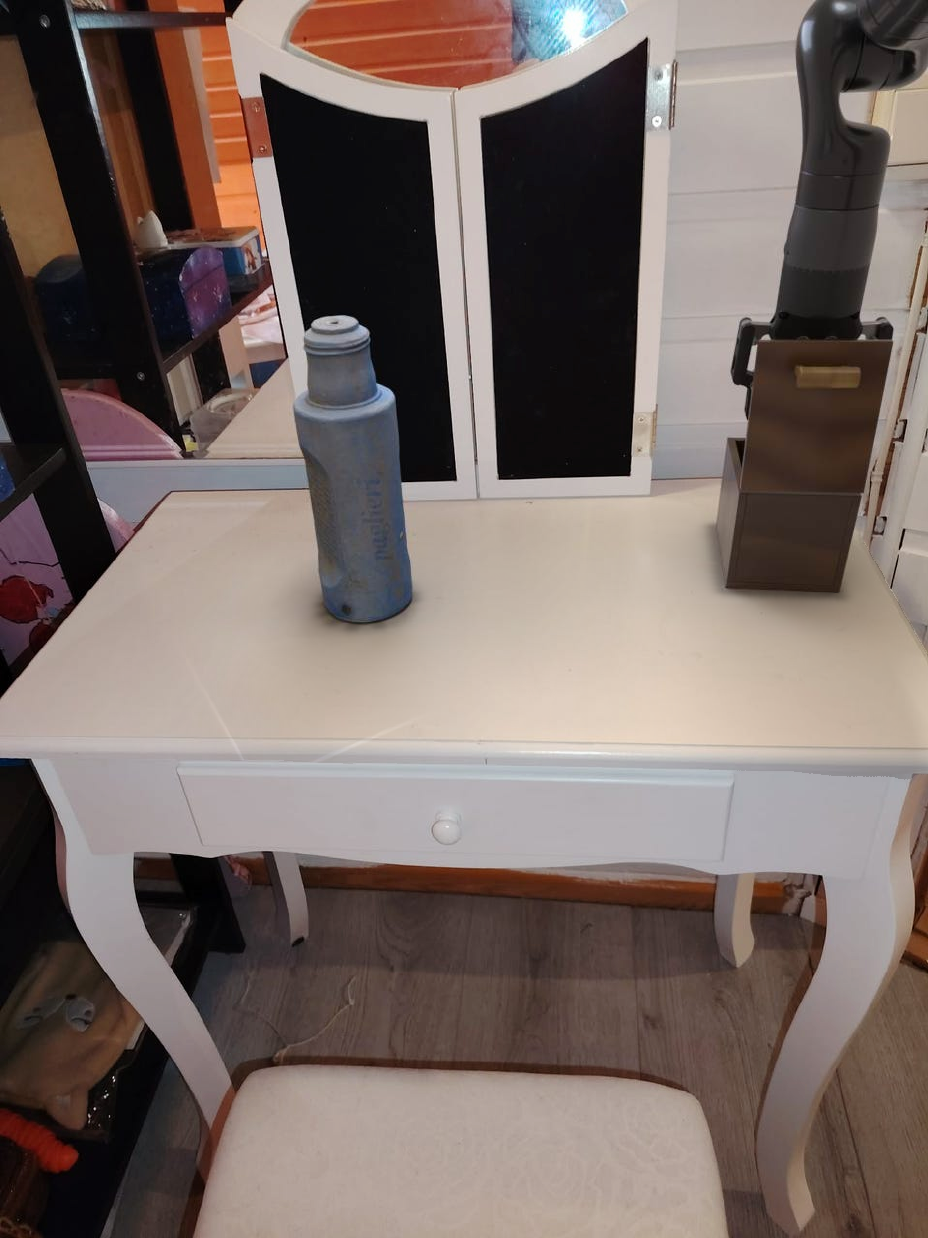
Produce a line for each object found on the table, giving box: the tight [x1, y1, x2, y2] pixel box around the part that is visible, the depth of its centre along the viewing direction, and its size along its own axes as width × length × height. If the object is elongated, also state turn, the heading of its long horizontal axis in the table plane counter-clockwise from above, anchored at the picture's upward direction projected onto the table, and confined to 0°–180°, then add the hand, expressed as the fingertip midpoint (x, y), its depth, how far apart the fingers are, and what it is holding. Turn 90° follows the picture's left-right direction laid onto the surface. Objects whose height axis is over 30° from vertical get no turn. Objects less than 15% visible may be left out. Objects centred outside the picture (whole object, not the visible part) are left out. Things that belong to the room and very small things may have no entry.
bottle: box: [292, 315, 413, 623], centre depth 88 cm, size 10×10×30 cm
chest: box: [715, 437, 863, 593], centre depth 96 cm, size 14×12×11 cm
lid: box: [740, 339, 894, 494], centre depth 82 cm, size 14×12×5 cm
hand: (797, 423), depth 90 cm, fingers open, 8 cm apart
